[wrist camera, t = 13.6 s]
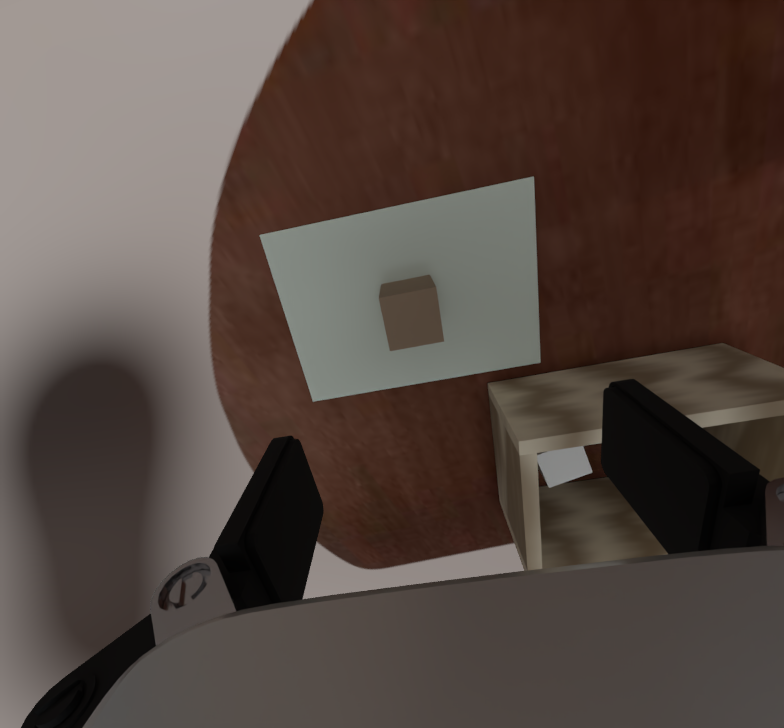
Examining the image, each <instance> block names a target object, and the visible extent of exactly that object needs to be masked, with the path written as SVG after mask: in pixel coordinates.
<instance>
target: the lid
mask: <svg viewBox="0 0 784 728" xmlns="http://www.w3.org/2000/svg"><path fill="white" fill-rule="evenodd" d="M260 238H261V241H262V245H263V248H264V251H265V254H266V257H267V260H268V263H269V266H270V269H271V273H272V276H273V279H274V282H275V285H276V288H277V291H278V294H279V297H280V300H281V304H282V307H283V310H284V313H285V316H286V319H287V322H288V325H289V328H290V332H291V335H292V338H293V341H294V344H295V347H296V350H297V353H298V356H299V360H300V363H301V366H302V369H303V372H304V375H305V378H306V381H307V384H308V387H309V391H310V394H311V397H312V400H313V402H314V401H319V400H325V399H331V398H337V397H343V396H349V395H355V394H360V393H366V392H372V391H378V390H384V389H390V388H395V387H401V386H407V385H413V384H419V383H425V382H430V381H436V380H442V379H448V378H454V377H460V376H466V375H471V374H477V373H483V372H489V371H495V370H501V369H506V368H512V367H518V366H524V365H530V364H536V363H541V360H540V332H539V304H538V276H537V248H536V220H535V192H534V177H529V178H524V179H520V180H515V181H510V182H506V183H501V184H496V185H492V186H487V187H482V188H477V189H473V190H468V191H463V192H459V193H454V194H449V195H445V196H440V197H435V198H431V199H426V200H421V201H417V202H412V203H407V204H403V205H398V206H393V207H389V208H384V209H379V210H375V211H370V212H365V213H361V214H356V215H351V216H347V217H342V218H337V219H332V220H328V221H323V222H318V223H314V224H309V225H304V226H300V227H295V228H290V229H286V230H281V231H276V232H272V233H267V234H262V235H260Z"/></svg>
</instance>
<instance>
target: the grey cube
mask: <svg viewBox="0 0 784 728" xmlns="http://www.w3.org/2000/svg"><path fill="white" fill-rule="evenodd" d="M537 463H538V469H539V471H540V472H541V474H542V476H543V478H544V480H545V482H546V483H547V485H548V487H549V488H551V487H553V486H556V485H559V484H562V483H565V482H567V481H570V480H573V479H576V478H578V477H581V476H584V475H587V474H589V473H592V469H591V466H590V464H589V461H588V458H587V456H586V453H585V450H584V447H583V446H579V447H573V448H566V449H560V450H553V451H546V452H540V453H537Z"/></svg>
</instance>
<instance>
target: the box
mask: <svg viewBox="0 0 784 728" xmlns="http://www.w3.org/2000/svg"><path fill="white" fill-rule="evenodd" d="M627 379H635V380H636V381H638V382H639V383H641V384H642V385H643V386H645V387H646V388H648V389H649V390H650V391H652V392H653V393H655V394H656V395H657V396H659V397H660V398H661V399H663V400H664V401H666V402H667V403H668V404H670V405H671V406H673V407H674V408H675V409H677V410H678V411H679V412H681V413H682V414H684V415H685V416H686V417H688V418H689V419H691V420H692V421H693V422H695V423H696V424H697V425H699V426H700V427H702V428H703V429H704V430H706V431H707V432H709V433H710V434H711V435H713V436H714V437H716V438H717V439H718V440H720V441H721V442H722V443H724V444H725V445H727V446H728V447H729V448H731V449H732V450H734V451H735V452H736V453H738V454H739V455H740V456H742V457H743V458H745V459H746V460H747V461H749V462H750V463H752V464H753V465H754V466H756V467H757V468H758V469H760V473H759V474H760V475H762V476H763V477H764V478H766V479H767V480H768V481H770V482H771V481H772V480H774V479H778V478H783V477H784V368H783V367H780V366H778V365H775V364H773V363H770V362H768V361H766V360H763V359H761V358H758V357H756V356H753V355H751V354H748V353H746V352H744V351H741V350H739V349H736V348H734V347H731V346H729V345H726V344H724V343H720V344H714V345H708V346H702V347H696V348H690V349H684V350H679V351H673V352H667V353H661V354H655V355H649V356H643V357H638V358H632V359H626V360H620V361H614V362H608V363H602V364H597V365H591V366H585V367H579V368H573V369H567V370H561V371H556V372H550V373H544V374H538V375H532V376H526V377H520V378H515V379H509V380H503V381H497V382H491V383H487V384H488V393H489V403H490V413H491V422H492V432H493V442H494V452H495V461H496V471H497V481H498V490H499V500H500V504H501V507H502V509H503V512H504V515H505V518H506V521H507V523H508V526H509V529H510V532H511V534H512V537H513V540H514V543H515V545H516V548H517V551H518V554H519V556H520V559H521V562H522V565H523V568H524V571H528V570H536V569H544V568H553V567H561V566H570V565H578V564H587V563H596V562H604V561H613V560H621V559H630V558H638V557H647V556H656V555H666V554H668V553H667V552H666V550H665V549H664V548H663V547H662V545H661V544H660V543H659V542H658V540H657V539H656V538H655V536H654V535H653V534H652V533H651V531H650V530H649V529H648V527H647V526H646V525H645V524H644V522H643V521H642V520H641V519H640V517H639V516H638V515H637V513H636V512H635V511H634V510H633V508H632V507H631V506H630V504H629V503H628V502H627V501H626V499H625V498H624V497H623V496H622V494H621V493H620V492H619V490H618V489H617V488H616V487H615V485H614V484H613V483H612V481H611V480H610V479H609V478H608V477H605V478H598V479H591V480H584V481H577V482H570V483H563V484H559V485H556V486H553V487H551V488H549V487H548V486H543V487H539V485H538V463H537V453H540V452H546V451H553V450H560V449H566V448H573V447H579V446H586V445H592V444H599V443H602V416H603V391H604V389H605V388H609V384H610V383H611V382H615V381H621V380H627Z"/></svg>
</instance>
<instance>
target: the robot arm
mask: <svg viewBox="0 0 784 728" xmlns="http://www.w3.org/2000/svg"><path fill="white" fill-rule="evenodd" d="M601 464H602V468H603V470H604V472H605V474H606V475H607V476H608V478H609V479H610V480H611V481H612V483H613V484H614V485H615V487H616V488H617V489H618V490H619V492H620V493H621V494H622V496H623V497H624V498H625V499H626V501H627V502H628V503H629V504H630V506H631V507H632V508H633V510H634V511H635V512H636V513H637V515H638V516H639V517H640V519H641V520H642V521H643V522H644V524H645V525H646V526H647V527H648V529H649V530H650V531H651V533H652V534H653V535H654V536H655V538H656V539H657V540H658V542H659V543H660V544H661V545H662V547H663V548H664V549H665V550H666V552H667V553H668V554H666V555H656V556H647V557H638V558H630V559H621V560H613V561H604V562H596V563H587V564H578V565H570V566H561V567H553V568H544V569H536V570H528V571H520V572H512V573H503V574H495V575H487V576H479V577H471V578H463V579H455V580H446V581H440V582H439V581H438V582H430V583H423V584H415V585H407V586H400V587H391V588H384V589H377V590H368V591H361V592H353V593H345V594H337V595H330V596H323V597H316V598H310V599H303V600H302V598H303V594H304V590H305V586H306V582H307V578H308V574H309V570H310V566H311V562H312V557H313V553H314V549H315V545H316V541H317V537H318V533H319V529H320V525H321V521H322V517H323V503H322V500H321V497H320V494H319V492H318V489H317V486H316V484H315V481H314V478H313V475H312V473H311V470H310V467H309V464H308V462H307V459H306V456H305V453H304V451H303V448H302V445H301V443H300V441H299V440H298V439H294V438H293V437H292V436H285V437H279V438H274V439H273V440H272V441H271V443H270V444H269V446H268V448H267V450H266V452H265V454H264V455H263V457H262V459H261V461H260V463H259V465H258V467H257V468H256V470H255V472H254V474H253V476H252V478H251V479H250V481H249V483H248V485H247V487H246V489H245V490H244V492H243V494H242V496H241V498H240V500H239V502H238V504H237V505H236V507H235V509H234V511H233V513H232V515H231V516H230V518H229V520H228V522H227V524H226V526H225V527H224V529H223V531H222V533H221V535H220V537H219V538H218V540H217V542H216V544H215V546H214V549H213V551H212V553H211V554H210V556H209V558H208V557H201V558H196V559H193V560H190V561H188V562H186V563H184V564H182V565H181V566H179V567H178V568H176V569H175V570H174V571H172V572H171V573H170V574H169V575H168V576H167V577H166V578H165V579H164V580H163V581H162V582H161V583H160V585H159V586H158V587H157V589H156V590H155V592H154V594H153V597H152V599H151V605H150V610H151V614H149V615H148V616H147V617H145V618H144V619H143V620H141V621H140V622H139V623H137V624H136V625H135V626H133V627H132V628H131V629H129V630H128V631H126V632H125V633H124V634H122V635H121V636H120V637H118V638H117V639H116V640H114V641H113V642H112V643H110V644H109V645H108V646H106V647H105V648H104V649H102V650H101V651H99V652H98V653H97V654H96V655H94V656H93V657H91V658H90V659H89V660H87V661H86V662H85V663H83V664H82V665H81V666H79V667H78V668H77V669H75V670H74V671H72V672H71V673H70V674H68V675H67V676H66V677H65V678H63V679H62V680H61V681H59V682H58V683H57V684H56V685H55V686H53V687H52V688H51V689H50V690H49V691H48V692H47V693H46V694H45V695H44V696H43V697H42V698H41V699H40V700H39V702H38V703H37V704H36V705H35V707H34V708H33V709H32V711H31V712H30V713H29V715H28V716H27V718H26V719H25V721H24V723H23V725H22V727H21V728H784V477H783V478H778V479H774V480H772V481H771V482H770V481H768V480H767V479H766V478H764V477H763V476H762V475H760V474H759V473H760V469H758V468H757V467H756V466H754V465H753V464H752V463H750V462H749V461H747V460H746V459H745V458H743V457H742V456H740V455H739V454H738V453H736V452H735V451H734V450H732V449H731V448H729V447H728V446H727V445H725V444H724V443H722V442H721V441H720V440H718V439H717V438H716V437H714V436H713V435H711V434H710V433H709V432H707V431H706V430H704V429H703V428H702V427H700V426H699V425H697V424H696V423H695V422H693V421H692V420H691V419H689V418H688V417H686V416H685V415H684V414H682V413H681V412H679V411H678V410H677V409H675V408H674V407H673V406H671V405H670V404H668V403H667V402H666V401H664V400H663V399H661V398H660V397H659V396H657V395H656V394H655V393H653V392H652V391H650V390H649V389H648V388H646V387H645V386H643V385H642V384H641V383H639V382H638V381H636V380H635V379H627V380H621V381H615V382H611V383H610V384H609V388H605V389H604V391H603V416H602V449H601Z"/></svg>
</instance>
